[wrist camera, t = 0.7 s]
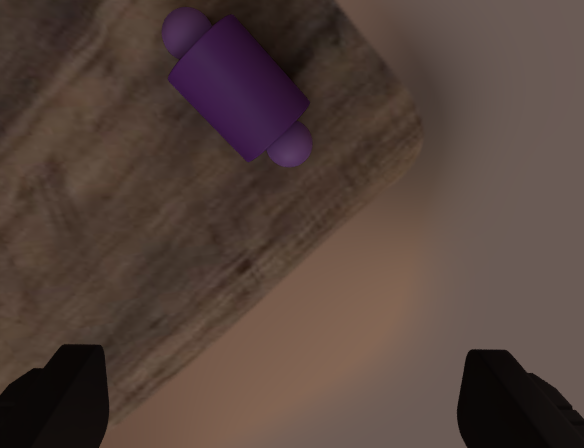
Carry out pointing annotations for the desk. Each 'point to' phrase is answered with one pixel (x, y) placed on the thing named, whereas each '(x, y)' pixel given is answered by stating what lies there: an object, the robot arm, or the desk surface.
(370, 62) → the desk surface
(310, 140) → the candy
